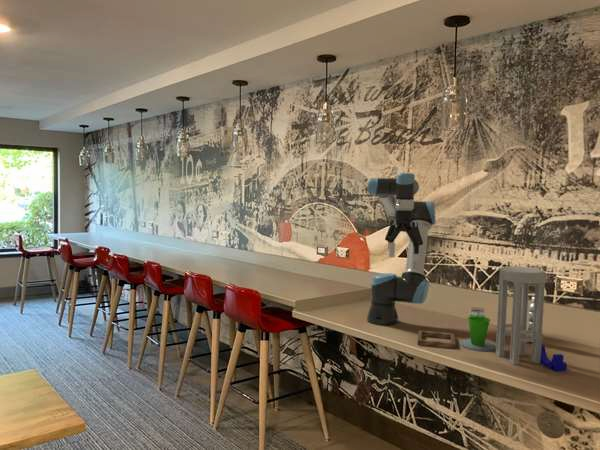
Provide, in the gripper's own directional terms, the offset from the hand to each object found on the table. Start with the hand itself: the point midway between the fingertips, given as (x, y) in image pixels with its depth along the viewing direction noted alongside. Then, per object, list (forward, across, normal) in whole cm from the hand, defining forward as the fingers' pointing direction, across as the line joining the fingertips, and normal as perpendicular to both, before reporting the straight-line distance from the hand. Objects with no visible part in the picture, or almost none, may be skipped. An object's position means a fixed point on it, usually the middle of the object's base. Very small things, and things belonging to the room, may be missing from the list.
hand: (402, 259), depth 209 cm
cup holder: (+35, +10, +11) cm, 38 cm away
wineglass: (+35, +13, +34) cm, 50 cm away
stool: (+35, +41, +22) cm, 58 cm away
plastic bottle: (+35, +32, +47) cm, 67 cm away
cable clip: (+35, +52, +27) cm, 68 cm away
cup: (+34, +23, +22) cm, 47 cm away
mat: (+35, +23, +22) cm, 47 cm away
